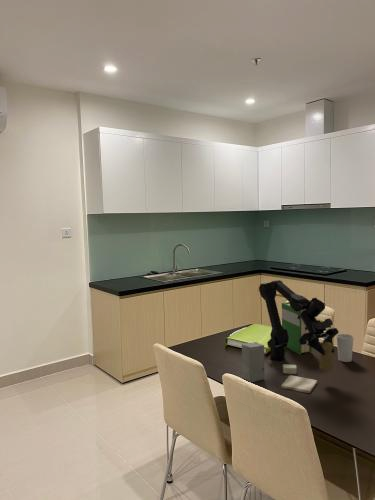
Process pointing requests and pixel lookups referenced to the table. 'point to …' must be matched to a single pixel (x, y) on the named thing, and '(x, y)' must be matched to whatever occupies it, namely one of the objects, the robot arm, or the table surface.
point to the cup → (345, 347)
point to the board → (299, 384)
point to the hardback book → (294, 329)
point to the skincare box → (253, 362)
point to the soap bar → (289, 369)
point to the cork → (326, 357)
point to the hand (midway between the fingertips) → (328, 353)
